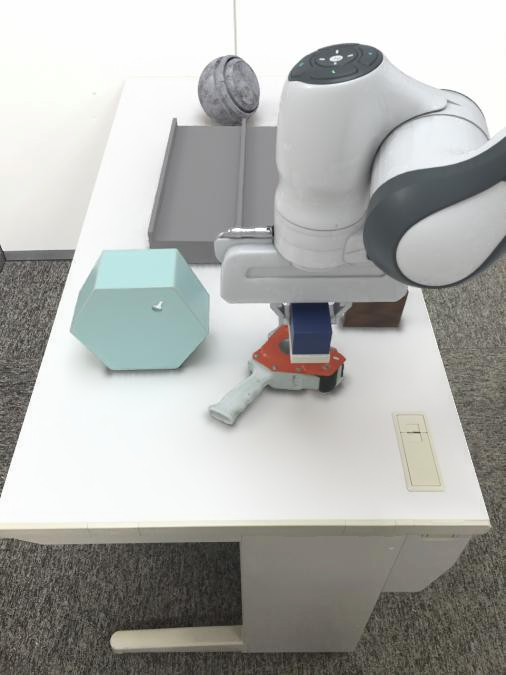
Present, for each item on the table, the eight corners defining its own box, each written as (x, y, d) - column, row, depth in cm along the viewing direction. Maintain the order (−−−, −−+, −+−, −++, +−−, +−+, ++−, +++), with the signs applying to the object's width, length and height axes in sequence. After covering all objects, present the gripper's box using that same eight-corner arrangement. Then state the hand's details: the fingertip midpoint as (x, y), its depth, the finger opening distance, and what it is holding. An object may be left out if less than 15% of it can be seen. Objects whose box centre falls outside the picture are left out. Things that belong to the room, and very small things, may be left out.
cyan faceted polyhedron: (165, 349, 90) (229, 271, 77) (161, 386, 85) (229, 310, 72) (66, 314, 83) (118, 221, 70) (56, 353, 77) (111, 261, 65)
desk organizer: (152, 262, 97) (147, 232, 92) (176, 146, 123) (172, 117, 118) (324, 264, 97) (329, 234, 92) (312, 147, 123) (315, 118, 118)
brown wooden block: (379, 247, 100) (387, 212, 94) (398, 327, 87) (409, 292, 81) (331, 247, 100) (337, 212, 94) (343, 326, 87) (350, 292, 81)
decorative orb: (243, 142, 124) (242, 76, 113) (189, 128, 128) (183, 64, 117) (268, 113, 133) (270, 50, 122) (217, 102, 137) (214, 39, 126)
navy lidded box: (329, 362, 61) (333, 334, 57) (290, 363, 61) (293, 335, 57) (321, 300, 67) (324, 271, 64) (286, 300, 67) (288, 271, 64)
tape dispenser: (210, 433, 76) (351, 427, 75) (205, 414, 72) (354, 409, 71) (214, 335, 87) (337, 329, 86) (210, 314, 83) (339, 308, 82)
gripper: (211, 248, 50) (219, 342, 61) (427, 246, 50) (398, 340, 61) (213, 208, 54) (221, 302, 65) (413, 206, 54) (388, 300, 65)
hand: (308, 320), depth 63 cm, fingers closed on navy lidded box, 4 cm apart
